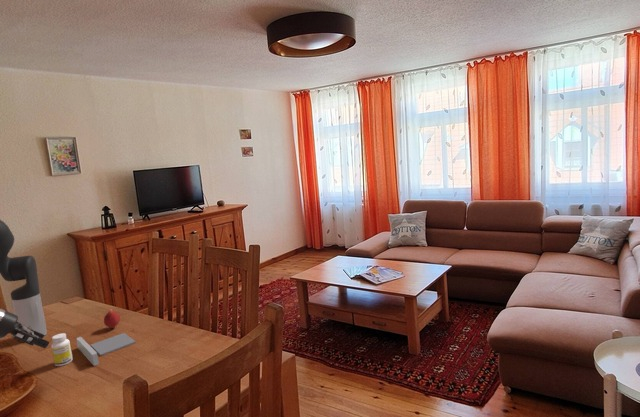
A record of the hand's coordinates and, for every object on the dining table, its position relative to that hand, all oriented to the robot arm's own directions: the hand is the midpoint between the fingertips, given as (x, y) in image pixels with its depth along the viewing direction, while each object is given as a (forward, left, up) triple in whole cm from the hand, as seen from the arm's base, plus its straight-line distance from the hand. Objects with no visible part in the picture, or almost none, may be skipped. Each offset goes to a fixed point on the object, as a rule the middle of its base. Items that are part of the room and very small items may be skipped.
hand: (44, 341), depth 132 cm
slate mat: (0, +20, -9) cm, 22 cm away
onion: (-16, +25, -10) cm, 31 cm away
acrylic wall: (+2, +11, -9) cm, 15 cm away
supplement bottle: (0, +4, -10) cm, 11 cm away
